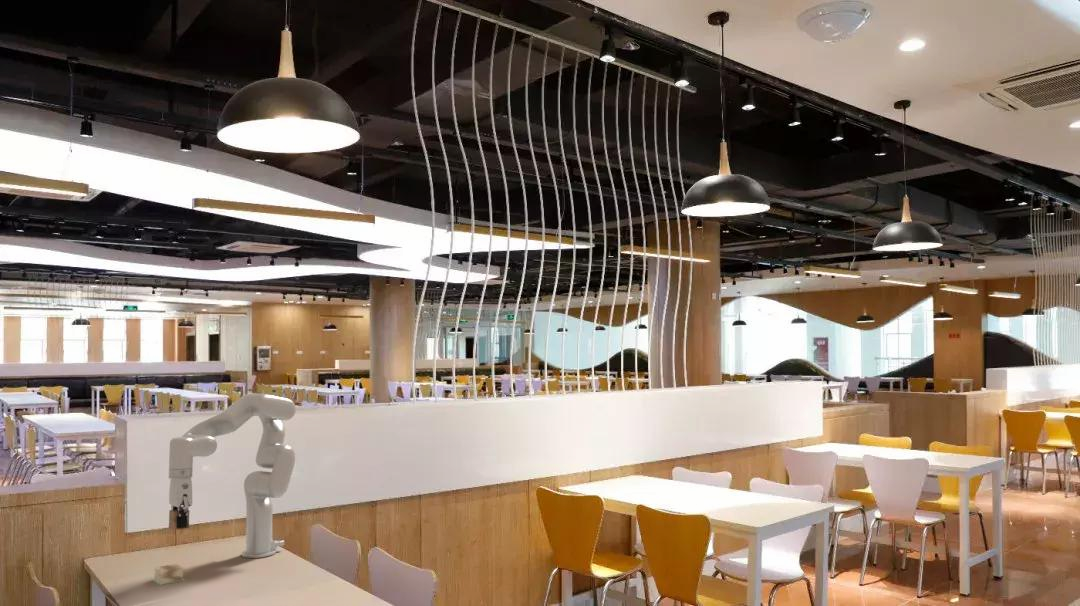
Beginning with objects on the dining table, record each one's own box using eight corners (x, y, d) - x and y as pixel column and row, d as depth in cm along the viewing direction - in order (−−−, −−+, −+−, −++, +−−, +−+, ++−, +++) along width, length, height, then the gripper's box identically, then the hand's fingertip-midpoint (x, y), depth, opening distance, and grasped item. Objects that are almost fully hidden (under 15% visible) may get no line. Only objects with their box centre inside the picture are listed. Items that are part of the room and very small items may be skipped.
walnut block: (183, 525, 272) (184, 508, 273) (188, 527, 268) (189, 510, 269) (168, 527, 269) (169, 510, 269) (173, 530, 265) (174, 512, 266)
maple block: (176, 575, 271) (176, 563, 271) (182, 579, 265) (183, 567, 266) (154, 579, 266) (154, 567, 266) (161, 583, 261) (161, 571, 261)
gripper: (200, 474, 266) (198, 528, 265) (183, 469, 279) (181, 521, 277) (177, 477, 261) (175, 532, 260) (161, 471, 274) (159, 524, 272)
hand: (178, 525), depth 269 cm, fingers closed on walnut block, 4 cm apart
